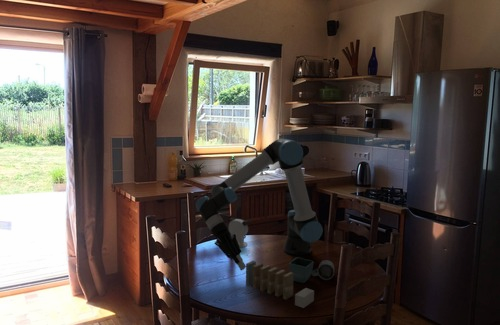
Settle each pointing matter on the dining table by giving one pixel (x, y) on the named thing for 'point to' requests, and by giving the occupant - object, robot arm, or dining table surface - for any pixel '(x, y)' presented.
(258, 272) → the domino
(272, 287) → the domino
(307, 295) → the end block
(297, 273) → the flower pot
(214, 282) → the dining table surface
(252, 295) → the dining table surface
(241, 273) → the dining table surface
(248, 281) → the domino
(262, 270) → the domino
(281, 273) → the domino
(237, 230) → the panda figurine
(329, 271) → the ceramic mug
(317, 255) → the dining table surface
